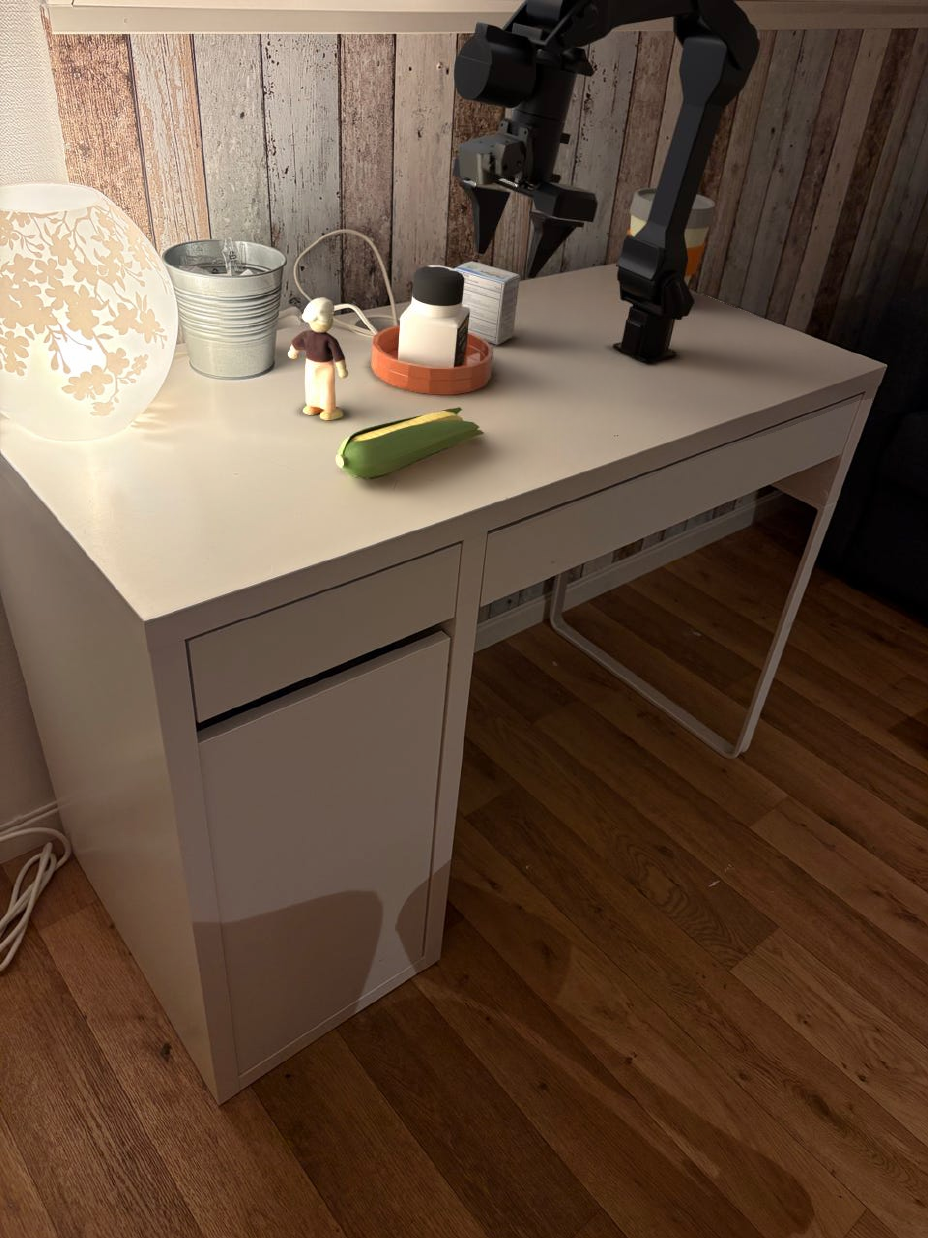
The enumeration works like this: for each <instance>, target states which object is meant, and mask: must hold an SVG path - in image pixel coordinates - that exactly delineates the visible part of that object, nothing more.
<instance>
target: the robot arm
mask: <svg viewBox="0 0 928 1238" xmlns="http://www.w3.org/2000/svg"><path fill="white" fill-rule="evenodd" d="M668 18H672V19H673V20H672V31H673V34H674V36H675V37H676V39H677V40H678V42H679V44H680V46H681V48H682V51H681V55H680V61H679V67H678V76H679V80H680V87H681V92H682V93H681V94H682V101H681V106H680V110H679V113H678V115H677V118H676V122H675V126H674V129H673V133H672V136H671V140H670V143H669V145H668V149H667V153H666V156H665V159H664V162H663V166H662V169H661V172H660V176H659V180H658V183H657V186H656V188H657V189H656V193H655V196H654V200H653V203H652V206H651V210H650V213H649V216H648V220H647V222H646V224H645V225H644V226H643V228H642V229H641V230H640V231H639V232H638V233H637V234H636V235H635V236H631V235H626V236H625V237H624V239H623V243H622V250H621V253H620V256H619V258H618V259H617V262H616V263H615V267H618V268H617V273H616V280H617V281H618V285H619V297H620V300H621V301H623V302H626V303H629V304H630V305H632V306H629V308H628V309H629V310H628V315H627V319H626V320H625V324H624V329H623V333H622V339H621V341H620V342H615V343H613V345H612V349H615V350H617V351H619V352H621V353H624V354H625V355H628V356H629V357H632V358H633V359H636V360H638V361H640V362H642V363H645V364H650V363H654V362H658V361H662V360H666V359H671V358H675V357H677V354H678V352H677V351H675V350H673V349H671V348H670V344H671V340H672V336H673V331H674V327H675V323H676V321H682V320H683V318H684V317H688V316H689V315H690V313H691V310H692V309H693V306H694V304H695V298H694V296H693V294H692V292H691V290H690V288H689V285H688V286H687V284H686V282H685V280H684V278H685V273H686V269H687V264H688V253H687V247H686V241H685V236H684V234H685V229H686V226H687V223H688V220H689V217H690V214H691V211H692V207H693V204H694V201H695V198H696V195H697V194H698V192H699V189H700V185H701V182H702V179H703V176H704V172H705V169H706V166H707V163H708V160H709V157H710V153H711V152H712V147H713V145H714V140H715V138H716V135H717V133H718V132H717V131H718V129H719V126H720V122H721V119H722V116H723V113H724V110H725V109H726V108H727V106H728V105H729V104H730V103H731V102H732V101H733V100H734V99H735V98H736V97H737V96H738V95H739V93H740V92H742V91H743V89H744V88H745V86H746V84H747V82H748V81H749V77H750V75H751V73H752V70H753V68H754V65H755V63H756V61H757V58H758V56H759V51H760V48H761V47H760V46H761V40H760V39H759V36H758V31H757V28H756V27H755V24H753V23H751V21H750V19H749V17H748V15H747V13H746V11H744V10H743V9H742V8H741V7H740V6H739V5H738V4H737V2H735V0H523V2H522V3H521V5H520V6H519V7H518V8H517V10H516V11H515V12H514V13H513V14H512V16H511V17H510V18H509V19H508V21H507V22H506V23H505V24H504V26H503V27H502V28H501V27H500V26H497V25H494V24H490V23H485V22H482V21H478V22H476V24H475V28H474V33H473V34H472V35H471V36H470V37H468V38H467V40H466V41H465V42H464V43H463V44H462V47H461V48H460V50H459V53H458V54H457V55H456V57H455V60H454V66H453V81H454V87H455V90H456V92H457V94H458V95H459V96H460V98H462V99H463V100H465V101H470V102H475V103H479V104H486V105H489V106H493V107H499V108H504V109H508V110H509V109H510V110H511V109H512V114H511V118H509V117H506V116H505V117H504V116H503V117H502V120H500V122H499V125H498V130H497V132H496V133H495V134H494V133H493V134H489V135H483V136H479V137H476V138H473V139H469V140H466V141H463V142H461V143H458V155H457V156H456V157H455V160H454V164H453V170H452V176H453V177H455V178H458V179H460V180H458V181H457V183H458V187H460V188H461V189H463V191H464V192H465V194H466V196H467V197H468V199H469V201H470V206H471V212H472V221H473V231H474V242H475V252H476V254H478V255H485V254H486V253H487V251H488V249H489V246H490V245H491V242H492V240H493V239H494V235H495V233H496V230H497V228H498V225H499V223H500V220H501V218H502V216H503V213H504V211H505V209H506V206H507V203H508V201H509V198H510V196H511V194H512V193H511V191H513V192H515V193H518V194H520V195H523V196H525V197H528V198H530V199H533V200H532V201H533V204H534V208H535V211H532V210H531V211H530V210H528V214H529V217H530V220H531V222H532V226H533V232H532V238H531V242H530V247H529V252H528V257H527V262H526V268H525V269H526V271H525V277H526V278H527V279H535V278H536V277H537V276H538V274H539V273H540V272H541V270H542V269H543V268H544V267H545V265H546V264H547V263H548V261H549V260H551V258H552V256H553V255H554V254H555V252H557V250H558V249H559V248H560V246H561V245H562V244H563V243H564V242H566V240H567V239H568V238H569V237H570V235H572V233H574V232H575V230H576V229H577V228H584V226H585V223H586V222H587V223H594V221H595V218H596V217H595V216H596V213H597V210H598V206H599V202H598V199H597V197H596V196H597V195H596V193H594V192H592V191H589V190H586V189H584V188H581V187H579V186H576V185H572V184H566V183H560V180H561V174H558V173H555V172H554V171H555V167H556V163H557V158H558V155H559V150H560V146H561V144H563V145H569V144H570V140H571V136H572V135H571V133H569V132H565V131H564V129H565V127H566V122H567V117H568V113H569V111H570V110H569V109H570V106H571V101H572V97H573V94H574V90H575V85H576V82H577V78H578V75H581V76H585V77H588V78H591V77H593V76H594V74H595V70H594V68H593V66H592V63H591V62H590V61H589V59H588V57H587V53H586V49H585V48H583V47H586V46H589V45H591V44H593V43H596V42H599V41H600V40H602V39H604V38H606V37H608V35H609V34H610V32H612V30H614V29H617V28H619V27H621V26H625V25H632V24H638V23H643V22H651V21H655V20H662V19H663V20H664V19H668ZM516 179H517V180H518V181H516ZM461 180H462V181H461ZM501 187H502V188H501ZM503 188H505V189H503ZM506 189H508V190H511V191H508V190H506Z"/></svg>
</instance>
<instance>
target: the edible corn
mask: <svg viewBox="0 0 928 1238" xmlns="http://www.w3.org/2000/svg"><path fill="white" fill-rule="evenodd" d="M463 410H464V409H463V408H461V407H460V406H458V407H453V408H448V409H444V410H439V411H434V412H430V413H424V414H421V415H416V416H412V417H407V418H403V419H399V420H394V421H390V422H385V423H381V424H377V425H373V426H369V427H367V428H363V429H360V430H359V431H356V432H354V433H353V434H351V435H350V436H348V437H347V438H345V439H344V440H343V442H342V443H341V445H340V446H339V449H338V451H337V454H336V456H335V463H336V465H337V466H338V467H339V468H340V469H342V470H343V471H344V472H345V473H347V474H348V475H349V476H351V477H353V478H356V479H363V480H373V479H377V478H382V477H385V476H387V475H390V474H392V473H394V472H397V471H399V470H402V469H404V468H406V467H408V466H410V465H413V464H415V463H417V462H419V461H422V460H424V459H426V458H429V457H431V456H434V455H436V454H438V453H440V452H442V451H445V450H447V449H450V448H452V447H455V446H456V445H459V444H461V443H463V442H466V441H468V440H471V439H474V438H477V437H480V436H482V435H484V434H485V432H484V431H483V430H481V429H479V428H480V426H479V425H478V424H476V423H475V422H474V421H467V420H464V419H463V417H462V416H460V415H458V414H459V413H460V412H462V411H463Z"/></svg>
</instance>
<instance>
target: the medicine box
mask: <svg viewBox="0 0 928 1238" xmlns="http://www.w3.org/2000/svg"><path fill="white" fill-rule="evenodd" d="M454 269H455V270H457V271H458V272H460V273H461V274H462V275H463V276H464V278H465V281H464V291H463V301H462V306H464V307H469V308H470V316H469V326H468V332H471V333H474V334H476V335H477V336H479V337H481V338H483V339H485V340H486V341H487V342H488V343H489V344H493V345H496V346H498V345H500V344H503V343H504V342H506V341H508V340H509V339H511V338H513V337H514V331H515V323H516V322H515V321H516V313H517V304H518V296H519V290H520V289H519V288H520V281H521V280H520V279H521V275H520V274H519V273H515V272H512V271H509V270H505V269H502V268H499V267H494V266H491V265H487V264H485V263H480V262H476V261H467V262H465V263H462V264H460V265H458V266H456V267H454Z"/></svg>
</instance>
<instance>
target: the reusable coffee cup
mask: <svg viewBox="0 0 928 1238" xmlns="http://www.w3.org/2000/svg"><path fill="white" fill-rule="evenodd" d="M656 189H657V187H644V188H640V189H636V190H635V191H634V195H633V198H632V201H631V206H630V209H629V214H630V215H631V216H630V217H631V218H630V228H628V230H627V235H631V236H635V235H636V234H637V233H638V232H639V231H640V230H641V229H642V228H643V226H644V225H645V224H646V222H647V220H648V216H649V213H650V210H651V206H652V203H653V200H654V196H655V193H656ZM715 207H716V203H715V202H714V200H712V199H710V198H708V197H706V196H704V195H701V194H698V193H697V195H696V198H695V201H694V204H693V207H692V211H691V214H690V217H689V220H688V223H687V226H686V229H685V234H684V236H685V241H686V247H687V253H688V264H687V269H686V273H685V278H684V280H685V282H686V284H687V286H688V287H689V283H690V280H691V278H692V275H694V274H696V271H697V269H698V266H699V263H700V260H701V258H702V255H703V252H704V249H705V247H706V244H707V243H706V241H705V238H706V236H707V235H708V231H709V228H710V227H711V226H713V221H714V214H715ZM627 235H626V236H627Z"/></svg>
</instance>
